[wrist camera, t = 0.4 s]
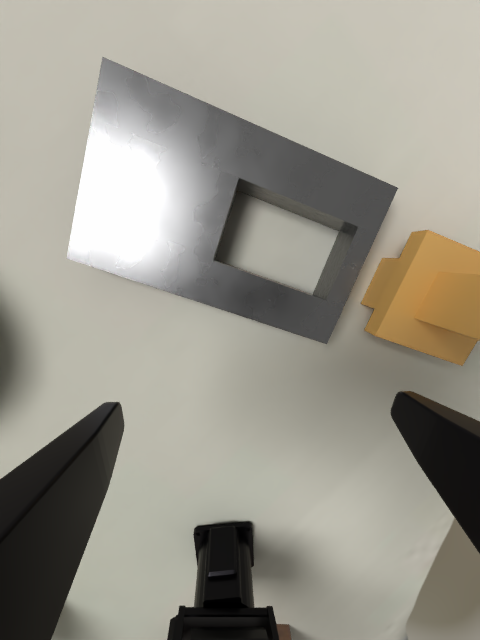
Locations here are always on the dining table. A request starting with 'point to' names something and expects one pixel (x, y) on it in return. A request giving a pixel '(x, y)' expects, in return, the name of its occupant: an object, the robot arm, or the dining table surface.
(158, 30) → the dining table surface
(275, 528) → the dining table surface
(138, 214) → the grey metal plate
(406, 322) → the orange post
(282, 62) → the dining table surface
